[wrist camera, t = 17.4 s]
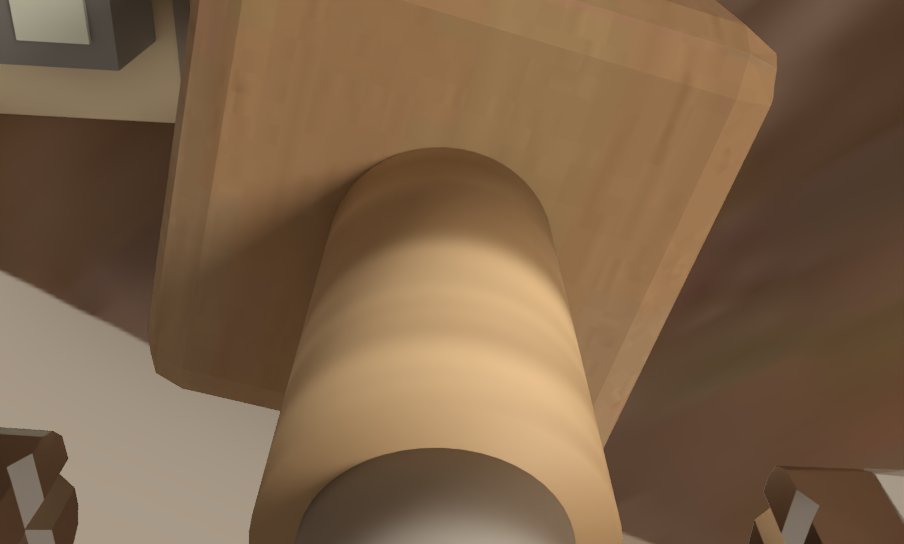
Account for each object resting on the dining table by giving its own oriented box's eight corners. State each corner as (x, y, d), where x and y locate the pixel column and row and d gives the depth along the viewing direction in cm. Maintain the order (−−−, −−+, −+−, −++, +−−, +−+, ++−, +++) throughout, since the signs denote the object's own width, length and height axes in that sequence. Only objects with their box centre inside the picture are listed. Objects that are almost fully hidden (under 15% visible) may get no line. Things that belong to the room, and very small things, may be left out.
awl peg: (325, 142, 14) (177, 565, 6) (564, 152, 14) (704, 579, 7) (330, 341, 16) (221, 853, 8) (540, 349, 16) (627, 860, 8)
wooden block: (620, -92, 31) (821, 58, 14) (532, 156, 36) (596, 504, 18) (352, -178, 30) (193, -136, 12) (297, 91, 34) (125, 397, 17)
